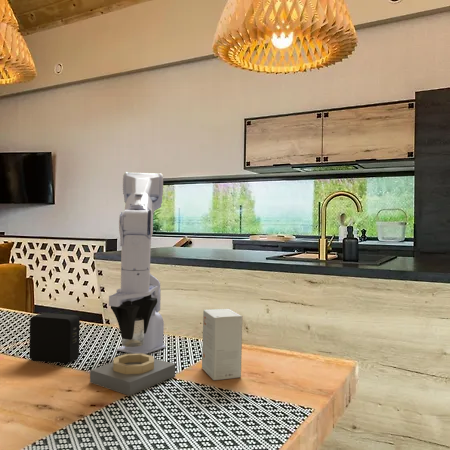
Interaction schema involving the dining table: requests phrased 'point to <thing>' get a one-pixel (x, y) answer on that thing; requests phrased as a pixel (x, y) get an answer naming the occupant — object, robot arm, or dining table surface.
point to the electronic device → (54, 337)
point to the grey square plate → (132, 373)
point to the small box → (222, 343)
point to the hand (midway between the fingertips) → (134, 335)
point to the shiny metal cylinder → (136, 334)
